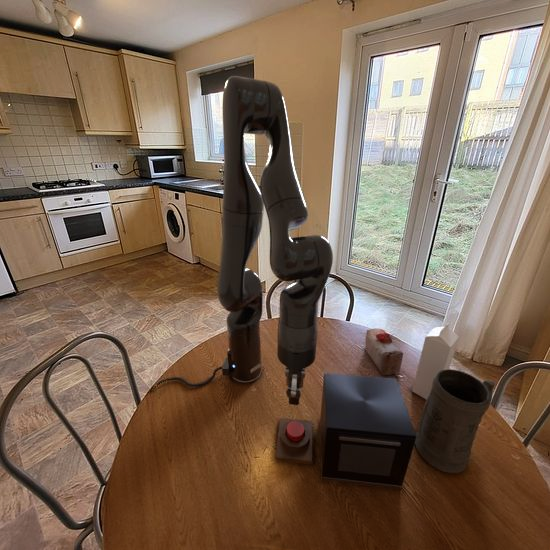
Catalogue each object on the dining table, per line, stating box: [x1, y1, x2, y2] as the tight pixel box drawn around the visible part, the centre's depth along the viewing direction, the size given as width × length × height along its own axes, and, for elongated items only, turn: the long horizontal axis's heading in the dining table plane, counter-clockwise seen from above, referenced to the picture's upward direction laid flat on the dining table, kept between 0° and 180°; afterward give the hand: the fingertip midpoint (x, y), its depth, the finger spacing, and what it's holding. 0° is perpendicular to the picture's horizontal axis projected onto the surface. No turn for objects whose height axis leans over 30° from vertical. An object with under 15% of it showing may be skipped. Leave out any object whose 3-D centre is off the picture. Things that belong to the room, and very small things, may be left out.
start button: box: [287, 421, 304, 442], centre depth 67 cm, size 4×4×2 cm
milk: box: [411, 322, 460, 401], centre depth 77 cm, size 6×6×22 cm
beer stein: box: [414, 369, 496, 474], centre depth 63 cm, size 15×11×20 cm
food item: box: [364, 328, 404, 376], centre depth 92 cm, size 14×8×10 cm, turn 9°
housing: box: [275, 417, 313, 465], centre depth 68 cm, size 8×10×3 cm
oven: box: [319, 372, 417, 490], centre depth 63 cm, size 16×14×16 cm
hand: (293, 402), depth 63 cm, fingers closed
